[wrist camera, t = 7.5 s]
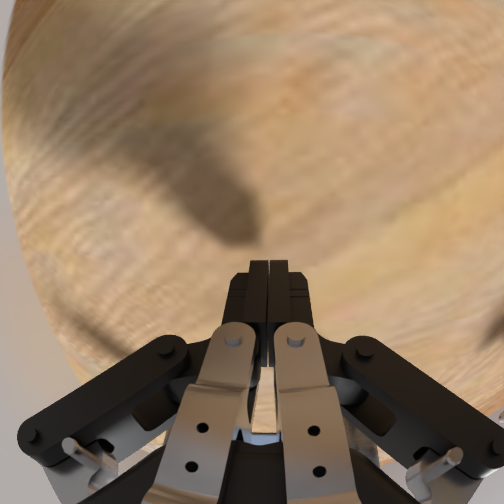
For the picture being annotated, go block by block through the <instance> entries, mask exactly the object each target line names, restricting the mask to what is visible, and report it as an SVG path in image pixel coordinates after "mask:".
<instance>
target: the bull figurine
mask: <svg viewBox="0 0 504 504" xmlns="http://www.w3.org/2000/svg"><path fill="white" fill-rule="evenodd" d="M499 422H502V423H504V411H503V412H501V414H500V415H499Z"/></svg>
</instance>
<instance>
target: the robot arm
mask: <svg viewBox="0 0 504 504" xmlns="http://www.w3.org/2000/svg"><path fill="white" fill-rule="evenodd" d="M268 351H269V367H274V397H275V412H276V429H277V442H275V443H270V444H265V445H254V444H251V433H252V424H253V418H254V412H255V407H256V400H257V394H258V388H259V380H260V374H261V367H267V354H268ZM342 416H343V417H345V418H346V419H347V420H348V421H349V422H350V423H351V424H353V425H354V426H355V427H356V428H357V429H358V430H360V431H361V432H362V433H363V434H364V435H366V436H367V437H368V438H369V439H370V440H371V441H373V442H374V443H375V444H376V445H378V446H379V447H380V448H381V449H382V450H384V451H385V452H386V453H387V454H389V455H390V456H391V457H392V458H394V459H395V460H396V461H397V462H399V463H400V464H401V465H402V466H404V467H405V468H406V469H408V470H407V473H406V485H407V487H408V489H409V490H410V491H411V492H412V493H413V494H414V496H415V498H413V497H412V496H411V495H410V494H409V493H407V492H406V491H405V490H404V489H403V488H401V487H400V486H399V485H398V484H397V483H396V482H394V481H393V480H392V479H391V478H390V477H389V476H388V475H386V474H385V473H384V472H383V471H382V470H381V469H380V468H379V467H377V466H376V465H375V464H374V463H373V462H372V461H371V460H370V459H369V458H367V457H366V456H365V455H363V454H362V453H360V452H359V451H357V450H355V449H353V448H350V447H348V442H347V437H346V432H345V427H344V422H343V417H342ZM172 425H173V427H172V430H171V433H170V436H169V439H168V442H167V444H166V445H164V446H162V447H160V448H158V449H156V450H154V451H153V452H152V453H150V454H149V455H148V456H146V457H145V458H144V459H142V460H141V461H140V462H138V463H137V464H136V465H134V466H133V467H131V468H130V469H129V470H127V471H126V472H124V473H123V474H122V475H120V476H119V477H118V463H119V462H121V461H122V460H124V459H125V458H127V457H128V456H130V455H131V454H133V453H134V452H136V451H137V450H139V449H140V448H142V447H143V446H145V445H146V444H147V443H149V442H150V441H152V440H153V439H154V438H156V437H157V436H159V435H160V434H161V433H163V432H164V431H166V430H167V429H168V428H170V427H171V426H172ZM17 440H18V445H19V447H20V448H21V450H22V451H23V452H24V453H25V454H27V455H28V456H30V457H31V458H33V459H34V460H36V461H37V462H38V463H39V464H40V465H41V466H42V467H43V469H44V471H45V473H46V475H47V477H48V479H49V481H50V483H51V485H52V487H53V489H54V491H55V493H56V495H57V496H58V498H59V500H60V502H61V503H62V504H467V503H468V502H469V500H470V499H471V497H472V496H473V494H474V493H475V491H476V490H477V488H478V486H479V485H480V483H481V482H482V480H483V479H484V478H485V477H486V476H488V475H490V474H491V473H493V472H495V471H496V470H498V469H499V468H501V467H503V466H504V429H503V428H502V427H501V426H499V425H498V424H496V423H495V422H493V421H492V420H491V419H489V418H488V417H486V416H485V415H484V414H482V413H481V412H479V411H478V410H476V409H475V408H474V407H472V406H471V405H469V404H468V403H466V402H465V401H464V400H462V399H461V398H459V397H458V396H456V395H455V394H454V393H452V392H451V391H449V390H448V389H447V388H445V387H444V386H442V385H441V384H439V383H438V382H437V381H435V380H434V379H432V378H431V377H429V376H428V375H427V374H425V373H424V372H422V371H421V370H419V369H418V368H417V367H415V366H414V365H412V364H411V363H410V362H408V361H407V360H405V359H404V358H402V357H401V356H400V355H398V354H397V353H395V352H394V351H392V350H391V349H390V348H388V347H387V346H385V345H384V344H382V343H381V342H380V341H378V340H377V339H375V338H372V337H369V336H356V337H353V338H351V339H350V340H348V341H347V342H346V343H345V344H342V343H337V342H333V341H329V340H327V339H325V338H323V337H322V336H320V335H319V334H318V333H317V332H316V330H315V328H314V325H313V317H312V310H311V303H310V298H309V290H308V282H307V279H306V278H305V277H304V275H303V274H302V273H301V272H288V260H270V271H269V262H268V260H251V261H250V267H249V273H237V274H236V275H235V276H234V277H233V278H232V280H231V282H230V286H229V291H228V296H227V300H226V305H225V310H224V315H223V319H222V324H221V326H219V327H218V328H217V329H216V330H215V331H214V332H213V335H212V337H211V338H209V339H207V340H204V341H200V342H196V343H190V344H186V342H185V341H184V340H183V339H182V338H181V337H179V336H176V335H163V336H160V337H157V338H156V339H154V340H152V341H151V342H149V343H148V344H146V345H145V346H143V347H142V348H140V349H139V350H137V351H136V352H134V353H132V354H131V355H129V356H128V357H126V358H125V359H123V360H122V361H120V362H118V363H117V364H115V365H114V366H112V367H111V368H109V369H108V370H106V371H104V372H103V373H101V374H100V375H98V376H96V377H95V378H93V379H92V380H90V381H89V382H87V383H85V384H84V385H82V386H81V387H79V388H77V389H76V390H74V391H73V392H71V393H69V394H68V395H66V396H65V397H63V398H61V399H60V400H58V401H57V402H55V403H53V404H52V405H50V406H49V407H47V408H45V409H43V410H42V411H40V412H39V413H37V414H35V415H34V416H32V417H30V418H29V419H27V420H26V421H24V422H23V423H22V425H21V426H20V428H19V430H18V434H17Z"/></svg>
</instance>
